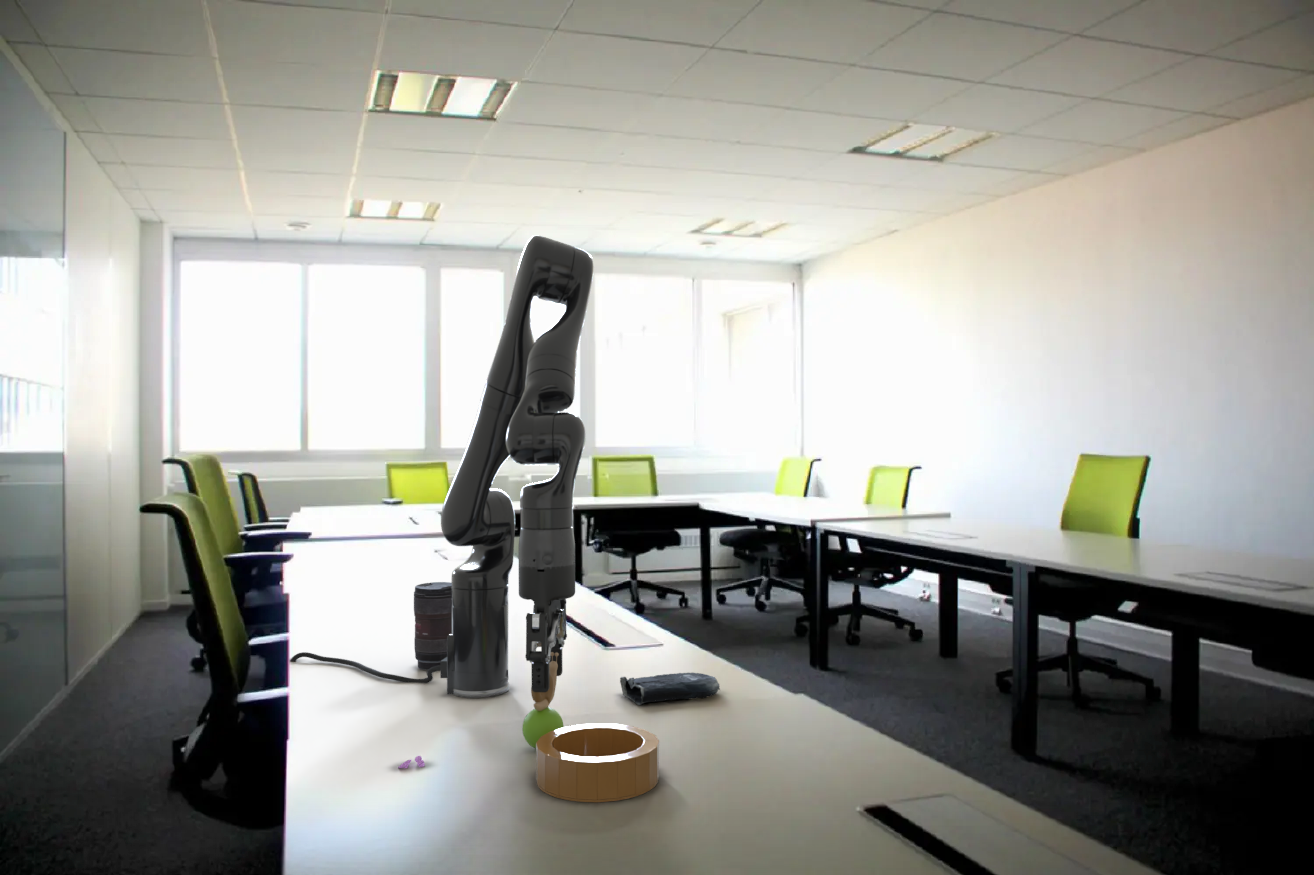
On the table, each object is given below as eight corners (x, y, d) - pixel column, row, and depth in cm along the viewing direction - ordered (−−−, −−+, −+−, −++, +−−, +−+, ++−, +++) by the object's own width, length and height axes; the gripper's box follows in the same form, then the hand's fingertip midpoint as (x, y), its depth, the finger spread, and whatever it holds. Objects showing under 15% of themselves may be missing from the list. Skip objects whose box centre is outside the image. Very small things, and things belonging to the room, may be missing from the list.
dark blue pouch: (644, 718, 139) (730, 693, 145) (638, 681, 139) (723, 659, 146) (623, 710, 147) (704, 688, 154) (617, 676, 148) (698, 655, 154)
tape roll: (523, 799, 103) (523, 759, 103) (551, 757, 117) (551, 721, 117) (651, 804, 101) (651, 764, 101) (663, 760, 116) (663, 725, 116)
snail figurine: (573, 742, 123) (573, 653, 123) (552, 757, 117) (552, 663, 117) (537, 738, 125) (537, 650, 125) (515, 752, 119) (515, 660, 119)
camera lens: (404, 669, 165) (404, 586, 165) (431, 660, 172) (431, 580, 172) (441, 673, 162) (441, 589, 162) (467, 663, 169) (467, 583, 169)
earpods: (404, 781, 113) (404, 777, 112) (398, 770, 114) (398, 766, 112) (426, 768, 115) (426, 763, 113) (420, 757, 115) (420, 752, 114)
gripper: (531, 555, 129) (532, 670, 129) (505, 567, 115) (506, 697, 115) (583, 555, 128) (584, 671, 128) (564, 568, 114) (565, 698, 114)
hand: (547, 683), depth 121 cm, fingers open, 8 cm apart
